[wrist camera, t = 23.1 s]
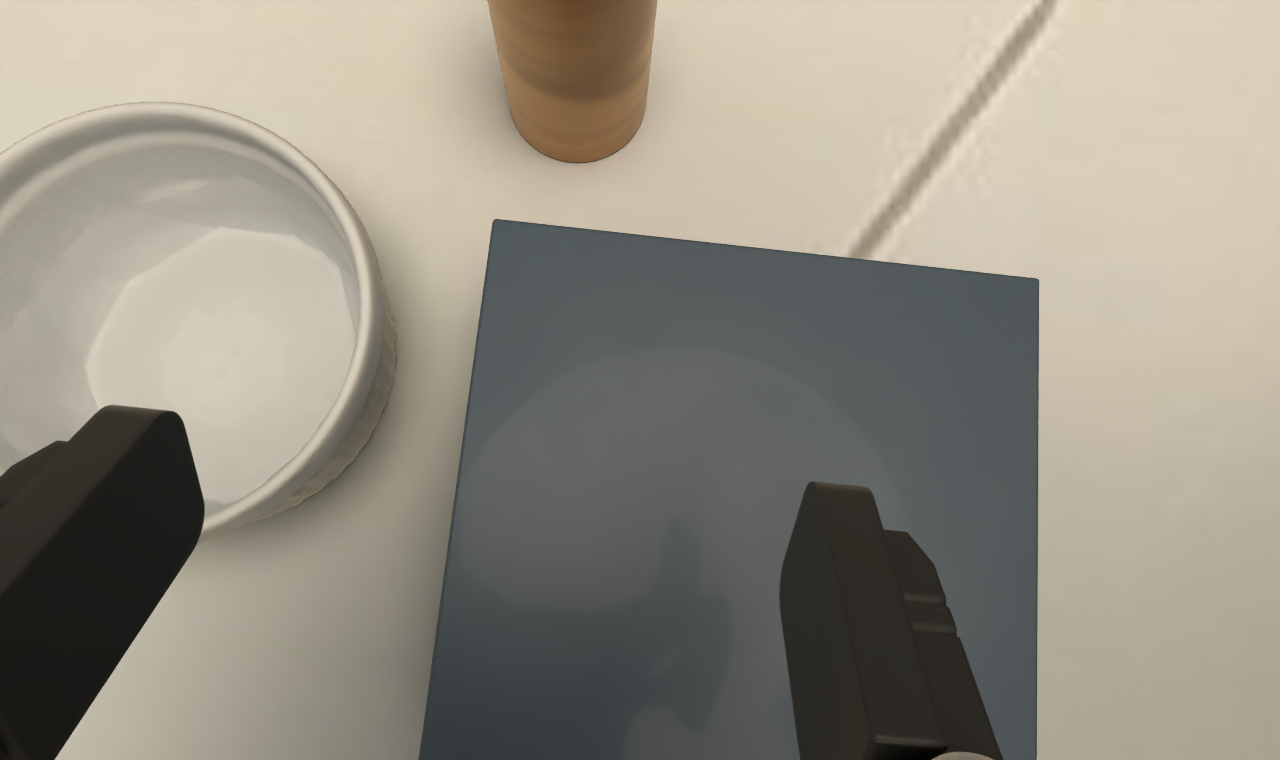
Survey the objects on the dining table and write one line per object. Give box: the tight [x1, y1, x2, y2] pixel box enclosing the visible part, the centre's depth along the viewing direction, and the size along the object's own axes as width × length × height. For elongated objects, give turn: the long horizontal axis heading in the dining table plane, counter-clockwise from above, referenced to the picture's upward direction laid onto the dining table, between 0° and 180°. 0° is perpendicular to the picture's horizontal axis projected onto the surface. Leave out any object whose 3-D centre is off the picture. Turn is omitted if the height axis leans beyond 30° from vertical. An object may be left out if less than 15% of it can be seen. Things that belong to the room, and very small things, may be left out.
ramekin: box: [0, 102, 396, 542], centre depth 26 cm, size 13×13×7 cm
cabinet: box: [419, 219, 1039, 760], centre depth 25 cm, size 15×15×9 cm
